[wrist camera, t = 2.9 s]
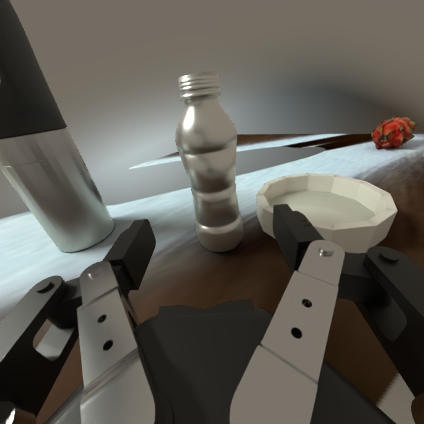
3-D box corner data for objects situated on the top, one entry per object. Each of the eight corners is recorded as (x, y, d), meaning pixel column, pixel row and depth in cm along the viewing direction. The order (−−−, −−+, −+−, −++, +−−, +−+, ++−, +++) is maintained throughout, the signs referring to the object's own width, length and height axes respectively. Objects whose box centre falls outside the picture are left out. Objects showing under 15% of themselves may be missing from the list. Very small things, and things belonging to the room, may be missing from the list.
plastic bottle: (240, 261, 24) (226, 63, 13) (191, 255, 26) (147, 80, 15) (247, 230, 29) (240, 71, 19) (206, 228, 31) (179, 83, 21)
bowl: (238, 214, 33) (236, 194, 31) (302, 185, 39) (305, 167, 37) (334, 277, 20) (342, 250, 18) (408, 219, 26) (421, 194, 24)
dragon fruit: (398, 147, 56) (377, 163, 52) (375, 130, 59) (354, 144, 55) (431, 124, 49) (410, 141, 45) (403, 104, 51) (380, 119, 47)
